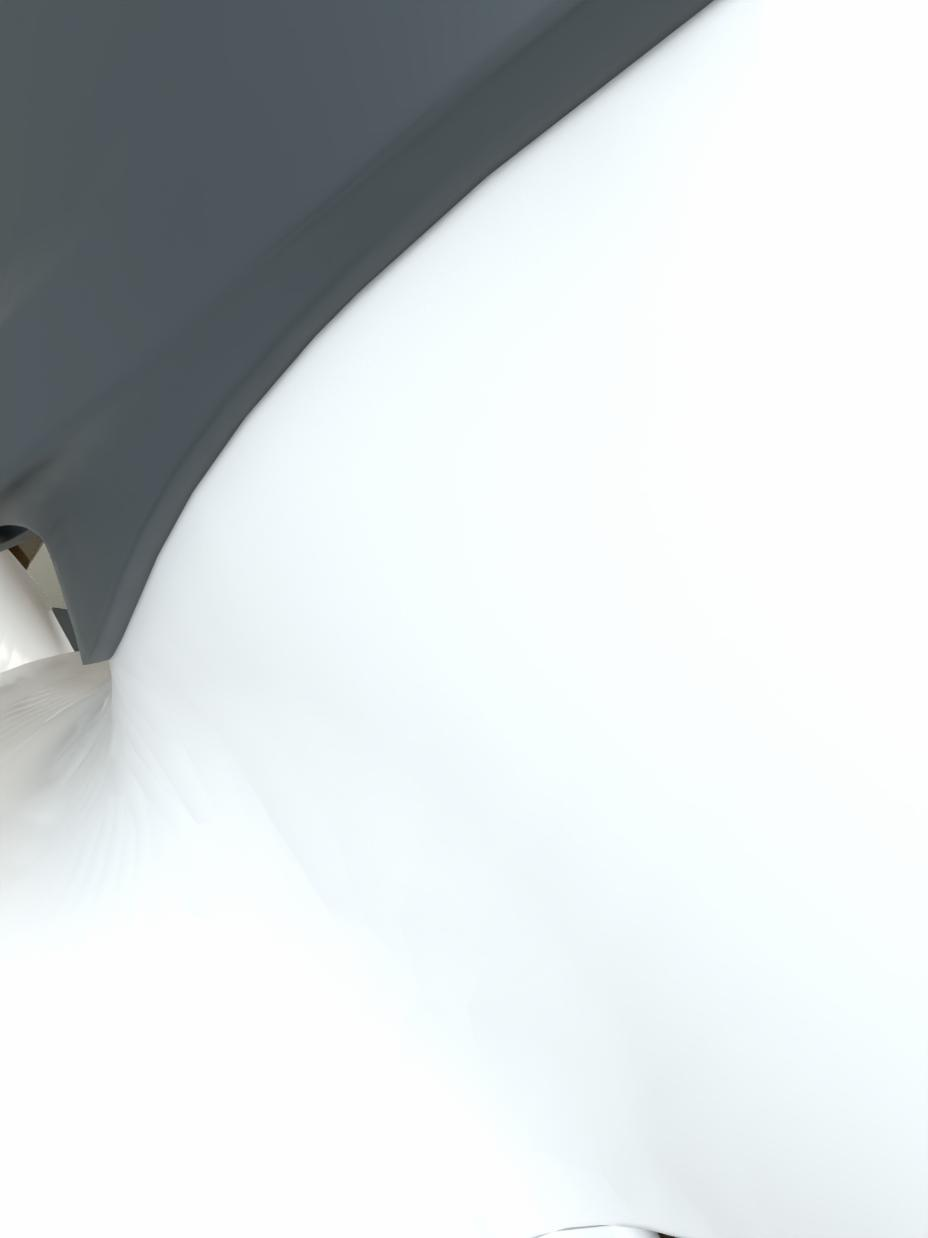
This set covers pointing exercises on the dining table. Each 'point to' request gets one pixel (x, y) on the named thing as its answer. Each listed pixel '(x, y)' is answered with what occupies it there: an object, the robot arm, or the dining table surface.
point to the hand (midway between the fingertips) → (125, 844)
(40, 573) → the dining table surface
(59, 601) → the dining table surface
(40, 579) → the dining table surface
